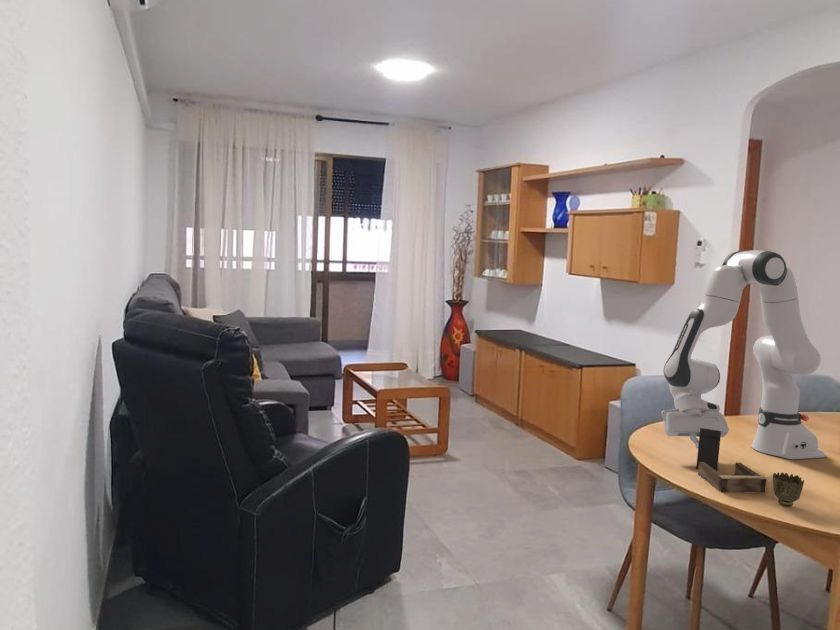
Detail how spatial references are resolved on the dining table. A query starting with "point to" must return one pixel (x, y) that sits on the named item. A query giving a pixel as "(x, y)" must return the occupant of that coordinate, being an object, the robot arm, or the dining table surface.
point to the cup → (787, 488)
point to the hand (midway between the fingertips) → (702, 447)
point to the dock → (734, 479)
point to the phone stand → (709, 447)
